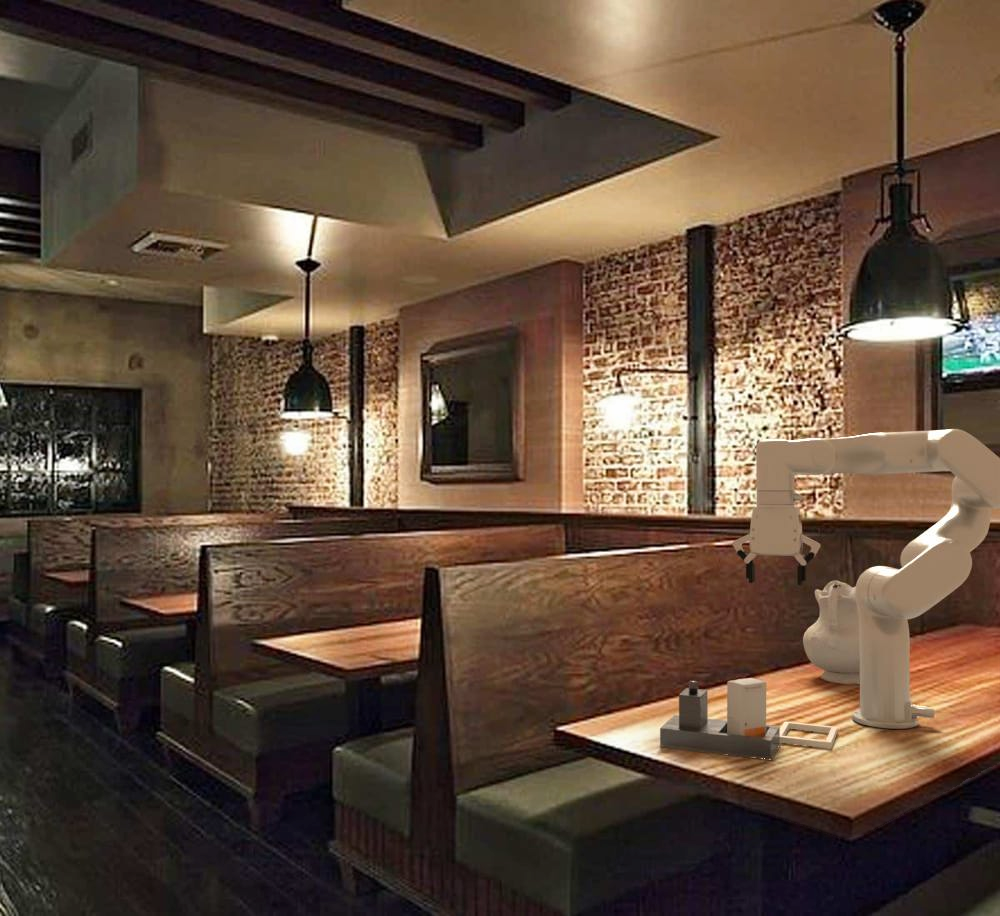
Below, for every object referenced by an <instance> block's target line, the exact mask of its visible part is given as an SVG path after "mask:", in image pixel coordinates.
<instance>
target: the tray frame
mask: <svg viewBox="0 0 1000 916" xmlns="http://www.w3.org/2000/svg"><path fill="white" fill-rule="evenodd" d="M792 729H797V730H796V731H802V730H805V731H804V732H811V731H813V732H814V733H823V734H827V737H826V739H824V740H823V739H814V738H808V737H807V738H806V737H798V736H789V735H788V736H787V734H786V733H788V732H789V731H790V730H792ZM787 731H788V732H787ZM813 732H812V733H813ZM837 735H838V726H834V725H833V726H832V725H825V724H824V725H823V724H815V723H804V722H795V721H794V722H793V721H784V722H783V723H782V724H781V726H780V744H782V743H789V744H788V745H791V744H797V745H796V746H800V745H806V746H805V747H808V746H812V747H811V748H817V747H818V748H819V749H825V750H826V749H828V750H831V749H832V747H833V745H834V743H835V740H836V738H837Z"/></svg>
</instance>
